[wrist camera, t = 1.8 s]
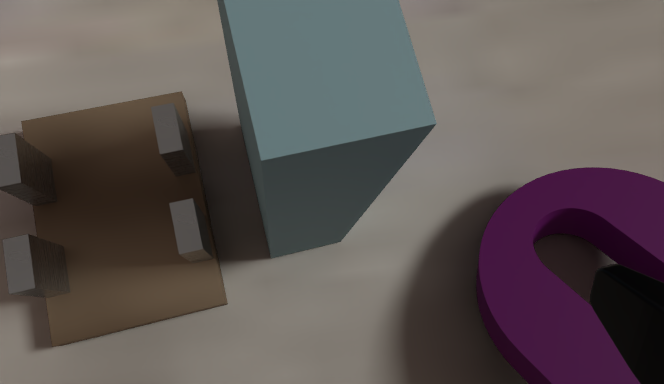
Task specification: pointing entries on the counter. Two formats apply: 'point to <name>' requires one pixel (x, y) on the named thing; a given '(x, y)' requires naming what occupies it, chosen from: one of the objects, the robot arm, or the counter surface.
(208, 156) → the counter surface
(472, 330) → the counter surface
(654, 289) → the robot arm
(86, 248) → the brown base with posts
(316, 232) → the door
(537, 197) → the mounting bracket
